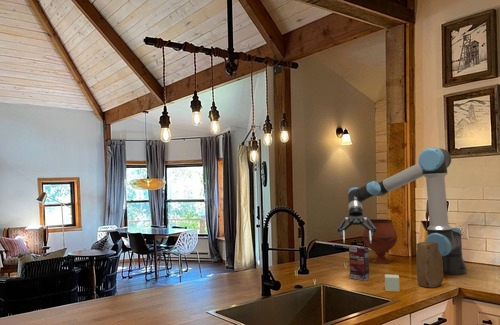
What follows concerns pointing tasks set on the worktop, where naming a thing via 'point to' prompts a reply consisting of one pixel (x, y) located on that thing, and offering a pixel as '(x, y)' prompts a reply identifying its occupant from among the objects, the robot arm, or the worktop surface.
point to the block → (429, 264)
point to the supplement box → (359, 262)
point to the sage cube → (392, 283)
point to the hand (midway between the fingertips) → (357, 241)
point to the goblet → (381, 239)
